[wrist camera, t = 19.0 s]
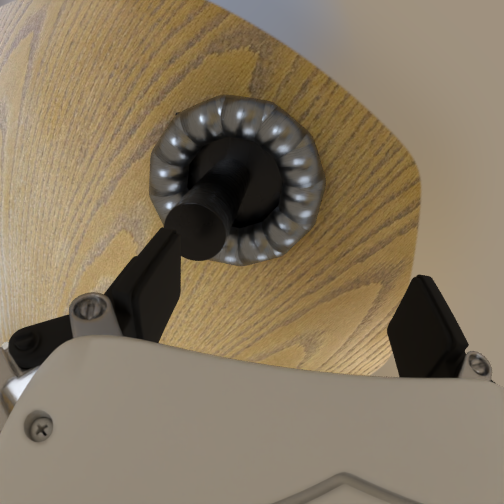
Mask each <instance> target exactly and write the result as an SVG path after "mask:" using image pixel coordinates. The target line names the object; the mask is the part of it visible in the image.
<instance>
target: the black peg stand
mask: <svg viewBox="0 0 504 504" xmlns="http://www.w3.org/2000/svg"><path fill="white" fill-rule="evenodd" d="M178 113H180V112H178ZM178 113H176V115H177V114H178ZM282 187H283V180H282V177H281V174H280V171H279V169H278V166H277V163H276V160H275V158H274V157H273V156H271V155H270V154H269V153H268V152H267V151H265V150H264V149H263V148H262V147H260V146H259V145H258V144H257V143H256V142H254V141H251V140H245V139H239V138H233V137H224V138H222V139H219V140H217V141H214V142H211V143H209V144H206V145H204V146H203V147H202V148H201V150H200V151H199V152H198V153H197V155H196V156H195V157H194V159H193V160H192V162H191V163H190V164H189V174H188V185H187V188H188V190H189V191H188V192H187V193H186V194H185V196H184V197H183V198H182V199H181V200H180V201H179V202H178V203H177V204H176V205H175V206H174V207H173V208H172V209H171V211H170V212H169V213H168V215H167V216H166V219H165V222H164V228H169V229H174V230H176V231H177V234H180V235H181V256H182V257H184V258H187V259H190V260H195V261H203V260H208V259H211V258H213V257H214V256H216V255H217V254H218V253H219V252H220V251H221V250H222V248H223V246H224V244H225V242H226V239H227V237H228V234H229V232H230V229H231V227H236V228H243V227H246V226H249V225H253V224H256V223H260V222H263V221H264V220H265V219H266V218H267V217H268V216H269V215H270V214H271V213H272V211H273V210H274V209H275V208H276V207H277V206H278V205H279V201H280V196H281V192H282Z"/></svg>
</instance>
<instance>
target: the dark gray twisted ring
mask: <svg viewBox="0 0 504 504" xmlns="http://www.w3.org/2000/svg"><path fill="white" fill-rule="evenodd" d="M224 137H233V138H239V139H245V140H251V141H254V142H256V143H257V144H258V145H259V146H260V147H262V148H263V149H264V150H265V151H267V152H268V153H269V154H270V155H271V156H273V157H274V158H275V160H276V163H277V166H278V169H279V171H280V174H281V177H282V180H283V187H282V192H281V196H280V201H279V205H278V206H277V207H276V208H275V209H274V210H273V211H272V213H271V214H270V215H269V216H268V217H267V218H266V219H265V220H264V221H263V222H260V223H256V224H253V225H249V226H246V227H243V228H236V227H231V229H230V232H229V234H228V237H227V239H226V242H225V244H224V246H223V248H222V250H221V251H220V252H219V253H218V254H217V255H216V256H214V257H213V258H211V259H208V260H212V261H216V262H221V263H226V264H231V265H236V266H246V265H250V264H254V263H258V262H262V261H266V260H270V259H273V258H277V257H280V256H282V255H284V254H285V253H287V252H288V251H289V250H290V249H291V248H292V247H293V246H294V245H295V244H296V243H297V242H298V241H299V240H300V239H301V238H302V237H304V236H305V235H306V234H307V233H308V232H309V231H310V230H311V229H312V228H313V226H314V225H315V222H316V219H317V216H318V212H319V208H320V205H321V201H322V197H323V194H324V190H325V186H326V178H325V174H324V171H323V168H322V164H321V161H320V158H319V155H318V151H317V148H316V145H315V142H314V139H313V137H312V136H311V134H310V133H309V132H308V131H307V130H306V129H305V128H304V127H303V126H301V125H300V124H299V123H298V122H297V121H296V120H295V119H293V118H292V117H291V116H290V115H289V114H287V113H286V112H285V111H284V110H283V109H281V108H280V107H279V106H278V105H276V104H275V103H273V102H270V101H266V100H260V99H254V98H248V97H241V96H234V95H219V96H216V97H214V98H211V99H209V100H207V101H204V102H202V103H200V104H197V105H195V106H193V107H190V108H188V109H186V110H184V111H182V112H180V113H178V114H177V115H176V116H175V117H174V118H173V120H172V121H171V123H170V124H169V126H168V127H167V129H166V130H165V131H164V133H163V134H162V136H161V137H160V139H159V140H158V142H157V143H156V145H155V147H154V148H153V150H152V153H151V158H150V178H149V195H150V199H151V201H152V203H153V205H154V207H155V209H156V211H157V213H158V215H159V217H160V219H161V221H162V223H163V225H164V222H165V219H166V216H167V215H168V213H169V212H170V211H171V209H172V208H173V207H174V206H175V205H176V204H177V203H178V202H179V201H180V200H181V199H182V198H183V197H184V196H185V194H186V193H187V192H188V191H189V190H188V188H187V185H188V174H189V164H190V163H191V162H192V160H193V159H194V157H195V156H196V155H197V153H198V152H199V151H200V150H201V148H202V147H203V146H204V145H206V144H209V143H211V142H214V141H217V140H219V139H222V138H224Z"/></svg>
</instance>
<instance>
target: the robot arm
mask: <svg viewBox="0 0 504 504" xmlns="http://www.w3.org/2000/svg"><path fill="white" fill-rule="evenodd" d="M180 291H181V235H180V234H177V231H176V230H174V229H169V228H163V227H162V228H160V230H159V231H158V232H157V233H156V234H155V236H154V237H153V238H152V239H151V240H150V242H149V243H148V244H147V245H146V246H145V248H144V249H143V250H142V251H141V252H140V254H139V255H138V256H135V257H133V258H132V259H131V261H130V262H129V263H128V264H127V266H126V267H125V268H124V269H123V271H122V272H121V273H120V274H119V276H118V277H117V278H116V279H115V281H114V282H113V283H112V284H111V286H110V287H109V288H108V290H107V291H106V292H105V294H101V293H95V292H91V293H85V294H82V295H80V296H78V297H77V298H75V299H74V300H73V301H72V302H71V304H70V307H69V315H65V316H62V317H59V318H55V319H52V320H48V321H45V322H42V323H38V324H35V325H31V326H28V327H24V328H22V329H20V330H18V331H17V332H15V333H14V334H13V335H12V337H11V338H10V341H9V343H8V348H6V349H5V350H4V349H3V347H0V504H504V388H503V387H502V386H500V385H498V384H496V383H495V382H493V381H492V380H491V376H492V367H491V365H490V363H489V361H488V360H487V359H486V358H485V356H483V355H482V354H481V353H479V352H475V351H470V352H468V353H467V354H466V353H465V349H466V348H467V347H468V345H469V344H468V342H467V340H466V338H465V336H464V335H463V333H462V330H461V329H460V327H459V325H458V323H457V321H456V319H455V317H454V315H453V314H452V312H451V310H450V308H449V306H448V305H447V303H446V301H445V299H444V298H443V296H442V294H441V292H440V291H439V289H438V287H437V286H436V284H435V283H434V281H433V279H432V278H431V277H429V276H425V275H417V276H416V277H414V278H413V279H412V280H411V282H410V285H409V287H408V289H407V291H406V293H405V295H404V297H403V299H402V301H401V303H400V305H399V306H398V308H397V310H396V312H395V314H394V316H393V318H392V320H391V321H390V323H389V325H388V328H387V334H388V337H389V341H390V344H391V347H392V351H393V354H394V358H395V362H396V365H397V369H398V372H399V377H381V376H365V375H352V374H340V373H329V372H320V371H311V370H303V369H295V368H287V367H280V366H273V365H267V364H260V363H254V362H248V361H242V360H237V359H231V358H226V357H221V356H216V355H211V354H206V353H201V352H196V351H192V350H187V349H183V348H179V347H174V346H169V345H164V344H160V343H158V342H159V340H160V338H161V336H162V333H163V331H164V329H165V327H166V325H167V323H168V321H169V319H170V316H171V314H172V312H173V310H174V308H175V306H176V304H177V302H178V300H179V297H180Z"/></svg>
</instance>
